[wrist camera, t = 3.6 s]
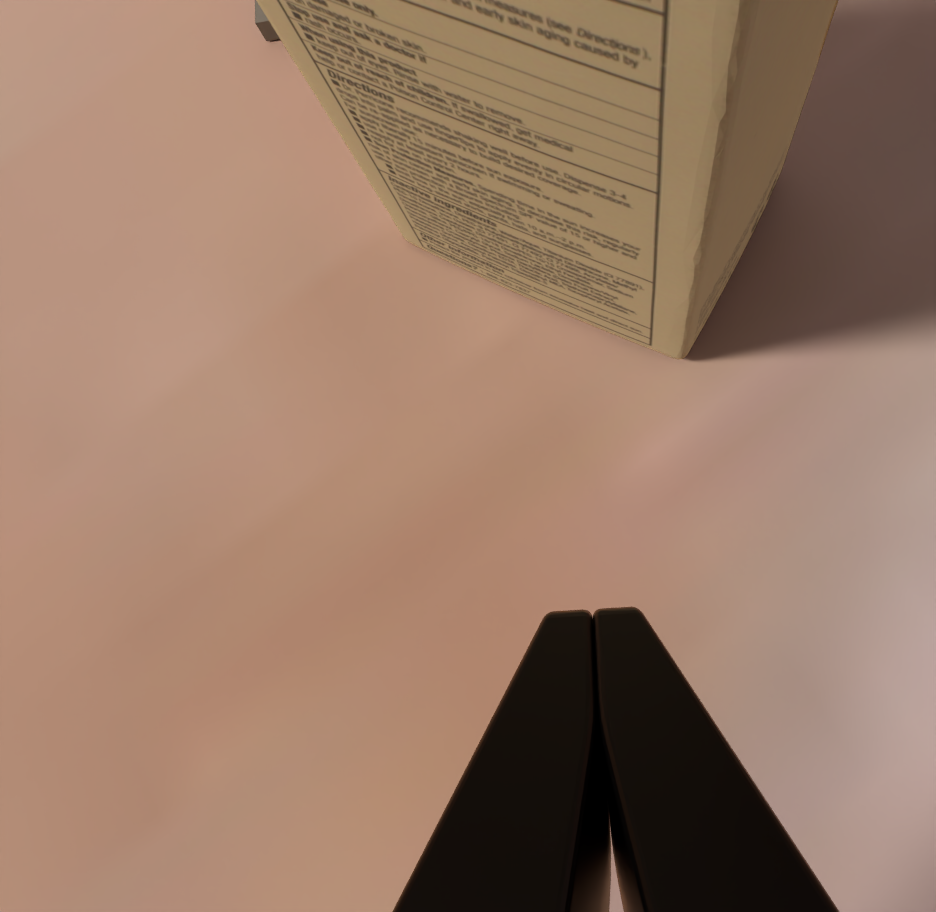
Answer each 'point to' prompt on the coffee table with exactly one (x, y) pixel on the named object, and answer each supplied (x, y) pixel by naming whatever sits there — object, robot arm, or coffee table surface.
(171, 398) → the coffee table surface
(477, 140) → the skincare box
